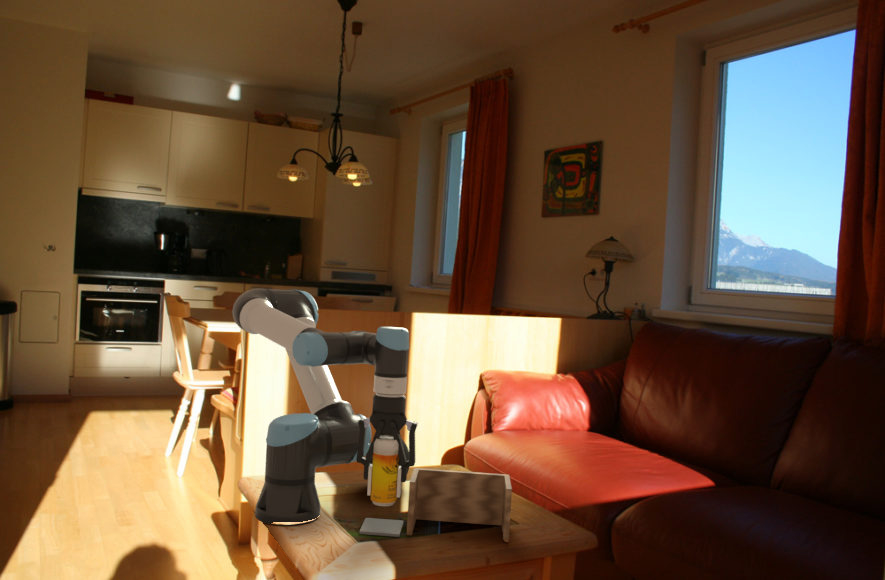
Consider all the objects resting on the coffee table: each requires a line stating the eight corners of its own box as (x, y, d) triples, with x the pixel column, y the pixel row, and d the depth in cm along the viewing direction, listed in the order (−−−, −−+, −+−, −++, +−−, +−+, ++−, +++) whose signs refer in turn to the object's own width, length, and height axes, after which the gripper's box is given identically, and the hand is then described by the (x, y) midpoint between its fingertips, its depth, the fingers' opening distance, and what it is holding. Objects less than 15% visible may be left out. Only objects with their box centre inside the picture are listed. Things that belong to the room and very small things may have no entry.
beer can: (392, 508, 155) (396, 441, 155) (366, 505, 156) (370, 439, 156) (399, 500, 161) (403, 436, 161) (374, 497, 162) (378, 433, 162)
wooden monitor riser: (406, 534, 156) (409, 481, 155) (411, 517, 168) (414, 467, 167) (508, 542, 155) (511, 489, 154) (506, 524, 167) (509, 474, 166)
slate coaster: (359, 533, 155) (359, 531, 155) (365, 520, 164) (365, 517, 164) (399, 536, 154) (399, 534, 154) (403, 523, 163) (403, 520, 163)
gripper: (345, 394, 155) (340, 496, 155) (429, 399, 154) (424, 502, 155) (351, 389, 163) (346, 487, 163) (431, 394, 162) (426, 492, 162)
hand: (384, 494), depth 159 cm, fingers closed on beer can, 6 cm apart
